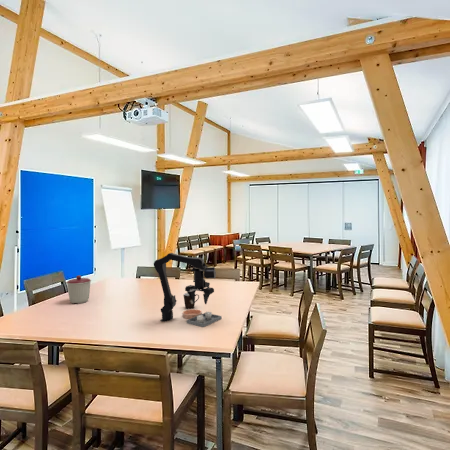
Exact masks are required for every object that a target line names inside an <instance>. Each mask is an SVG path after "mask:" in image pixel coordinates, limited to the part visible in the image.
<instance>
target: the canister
mask: <svg viewBox="0 0 450 450" xmlns="http://www.w3.org/2000/svg"><path fill="white" fill-rule="evenodd" d="M91 282H92V279H90V278H88V277H82V275H80V274H79V275H76V277H75V278H72V279H69V280H68V281H66V282H65V283H66V285H67V293H68V297H69V302H70V303H71V304H74V303H78V304H83V303H87V302H88V301H89V299H90V293H91V292H90V291H91Z"/></svg>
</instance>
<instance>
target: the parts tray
mask: <svg viewBox="0 0 450 450" xmlns="http://www.w3.org/2000/svg"><path fill="white" fill-rule="evenodd" d="M201 315H203V318H204V323H203V324H202V323H198V322H197V316H196V317H194V318H191V319H186V324H187V325H192V326H197V327H201V328H205V327H206V326H209V325H212V324H214V323H216V322H218V321H221V320H222V315H218V314H213V313H212V319H211V320H205V312H204V313H202V314H201Z"/></svg>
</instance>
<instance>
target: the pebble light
mask: <svg viewBox="0 0 450 450" xmlns="http://www.w3.org/2000/svg"><path fill="white" fill-rule="evenodd" d="M197 322H198V323H202V324H203V323H204V318H203V315H197Z"/></svg>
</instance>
